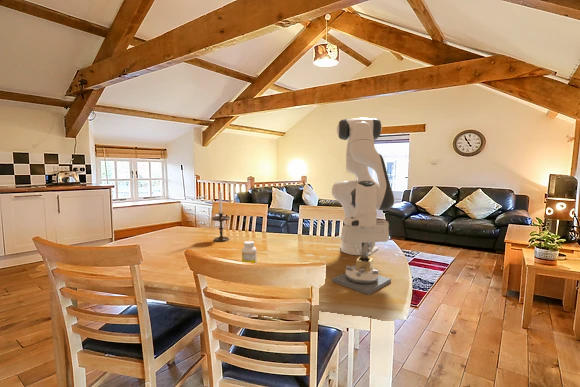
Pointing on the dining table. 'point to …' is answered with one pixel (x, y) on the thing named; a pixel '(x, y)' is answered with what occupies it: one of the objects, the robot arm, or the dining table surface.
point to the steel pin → (364, 251)
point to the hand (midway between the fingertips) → (364, 252)
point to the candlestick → (220, 220)
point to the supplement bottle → (249, 252)
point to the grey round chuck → (362, 272)
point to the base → (362, 287)
